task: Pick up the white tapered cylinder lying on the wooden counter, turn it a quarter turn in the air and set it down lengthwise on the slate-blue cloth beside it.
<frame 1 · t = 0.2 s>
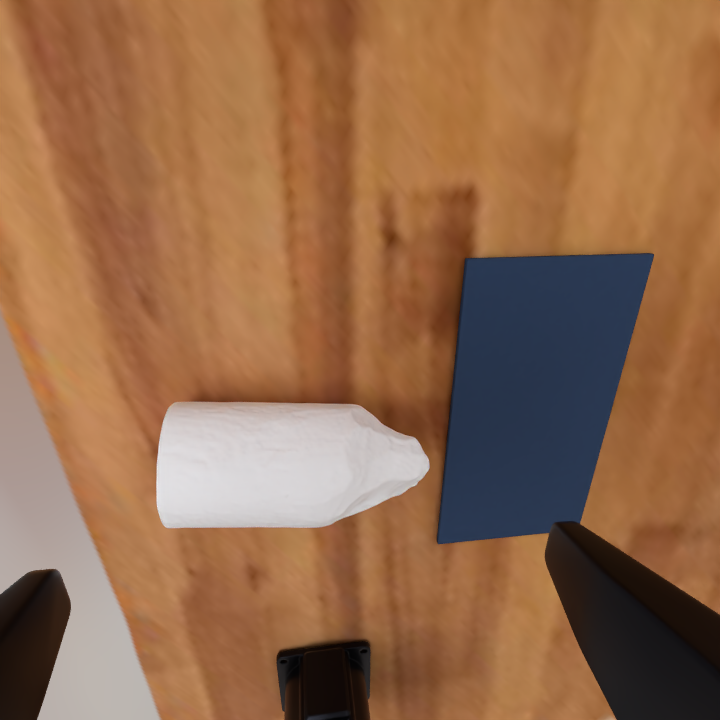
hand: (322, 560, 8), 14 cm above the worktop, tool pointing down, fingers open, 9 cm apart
white tapered cylinder: (303, 429, 24), on the worktop
cloth: (529, 415, 25), on the worktop
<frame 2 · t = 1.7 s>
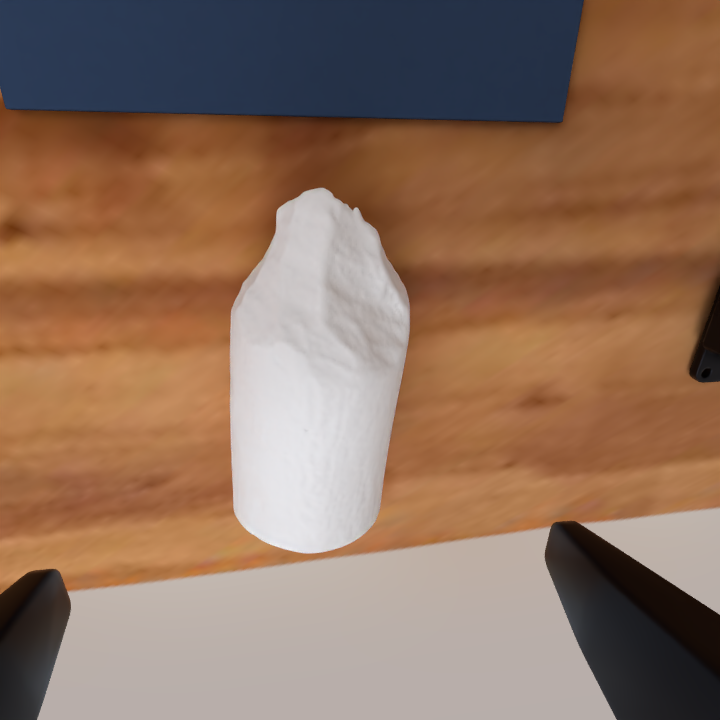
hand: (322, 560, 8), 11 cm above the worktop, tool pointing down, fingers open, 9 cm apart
white tapered cylinder: (313, 338, 18), on the worktop
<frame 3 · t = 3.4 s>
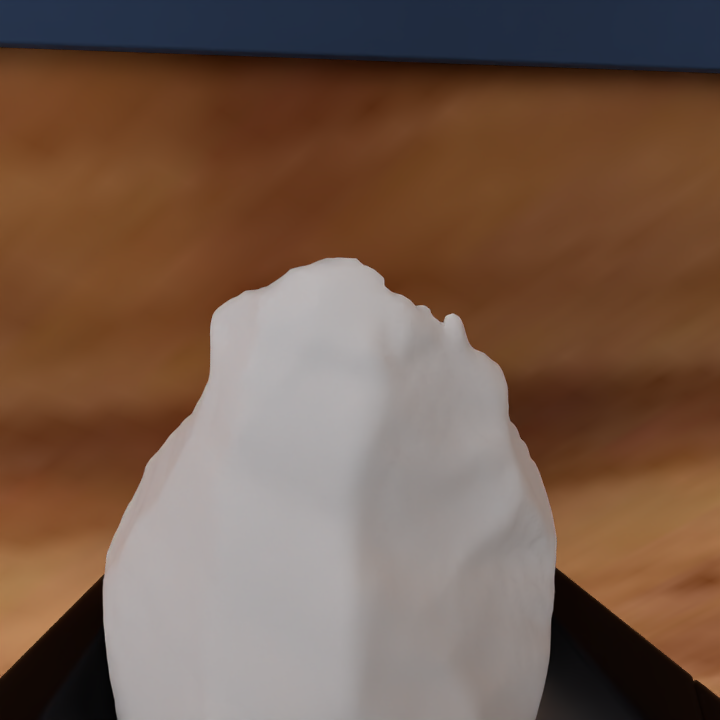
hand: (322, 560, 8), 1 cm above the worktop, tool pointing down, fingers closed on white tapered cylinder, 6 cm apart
white tapered cylinder: (318, 505, 10), on the worktop, touching gripper
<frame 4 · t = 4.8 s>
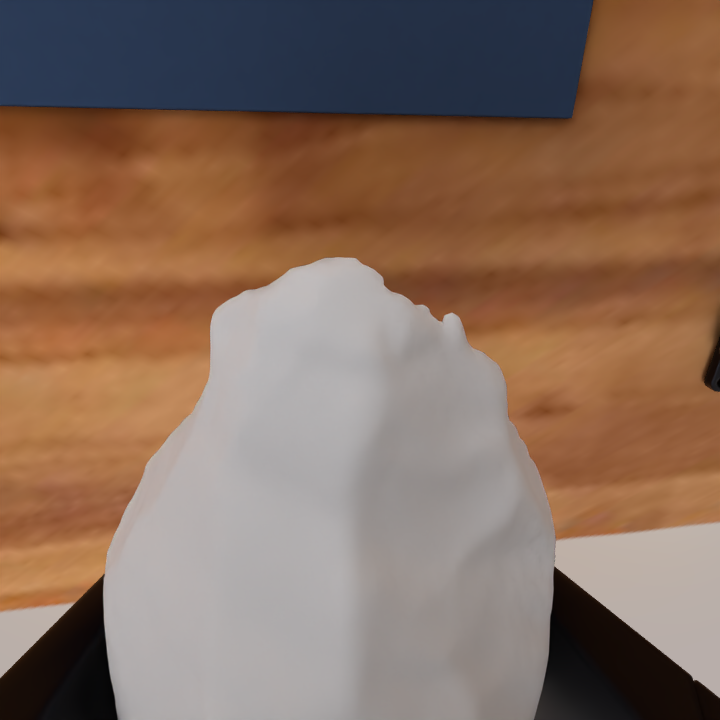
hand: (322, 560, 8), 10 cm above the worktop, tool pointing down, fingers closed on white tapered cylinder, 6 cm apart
white tapered cylinder: (317, 504, 10), point 9 cm above the worktop, touching gripper
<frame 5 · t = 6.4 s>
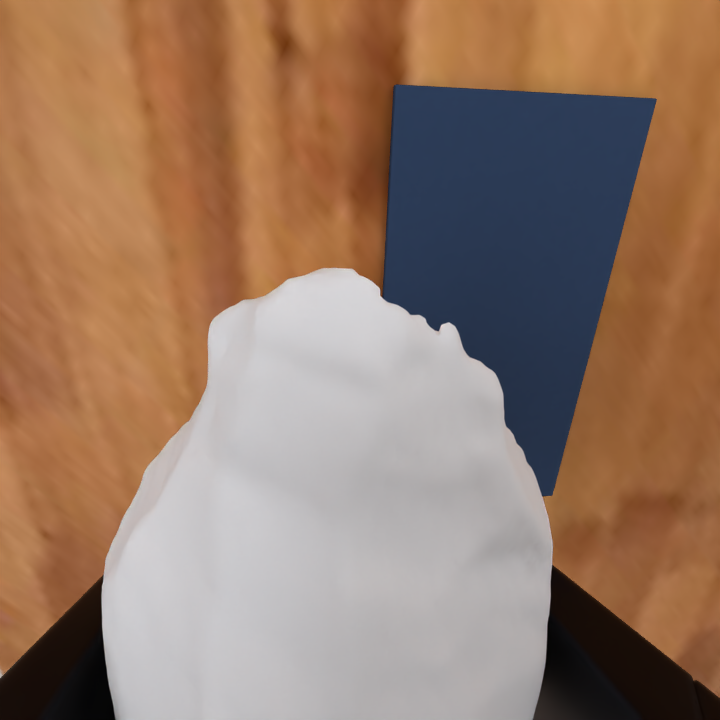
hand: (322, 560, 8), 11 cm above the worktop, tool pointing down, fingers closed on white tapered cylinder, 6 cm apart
white tapered cylinder: (316, 508, 10), point 10 cm above the worktop, touching gripper
cloth: (488, 334, 19), on the worktop
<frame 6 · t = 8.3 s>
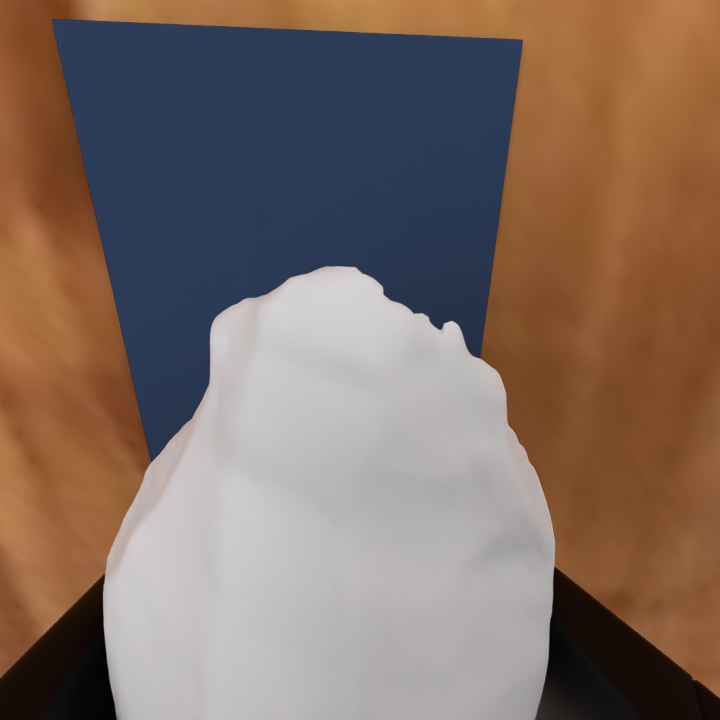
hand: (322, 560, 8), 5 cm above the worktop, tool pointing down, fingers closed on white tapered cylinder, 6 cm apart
white tapered cylinder: (317, 508, 10), point 4 cm above the worktop, touching gripper
cloth: (314, 405, 13), on the worktop
when the fingers open (1 cm above the worktop, at t = 9.8 s): white tapered cylinder stays where it is, resting on cloth.
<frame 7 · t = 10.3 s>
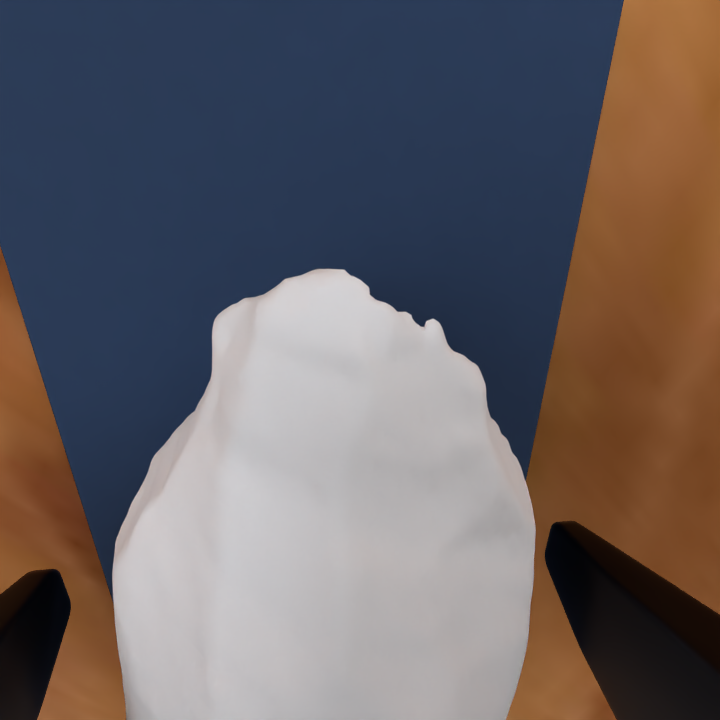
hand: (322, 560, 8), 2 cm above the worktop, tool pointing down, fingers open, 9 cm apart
white tapered cylinder: (314, 500, 10), resting on cloth
cloth: (318, 491, 10), on the worktop
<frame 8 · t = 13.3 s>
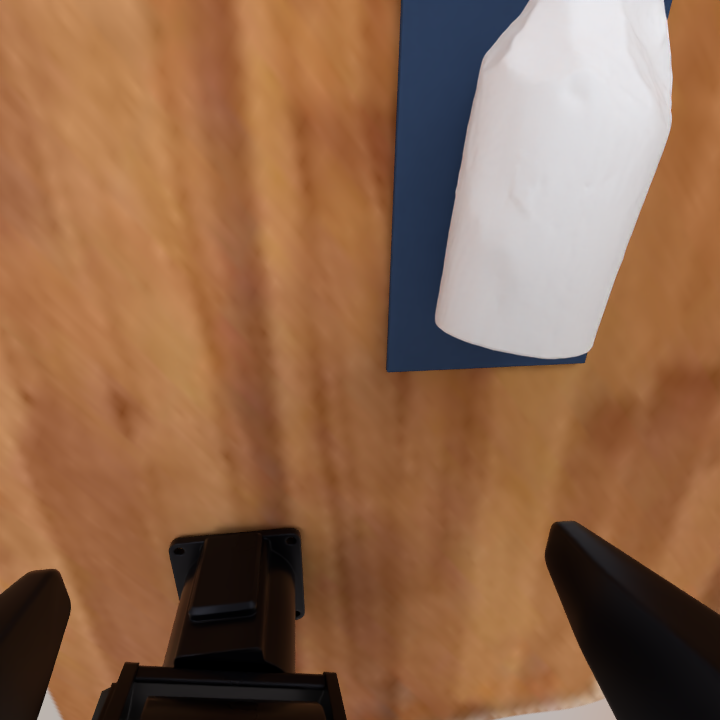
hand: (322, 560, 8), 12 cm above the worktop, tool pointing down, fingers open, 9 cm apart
white tapered cylinder: (514, 157, 17), resting on cloth
cloth: (516, 152, 17), on the worktop
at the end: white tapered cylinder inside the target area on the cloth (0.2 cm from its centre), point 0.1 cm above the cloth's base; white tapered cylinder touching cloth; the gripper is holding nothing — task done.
